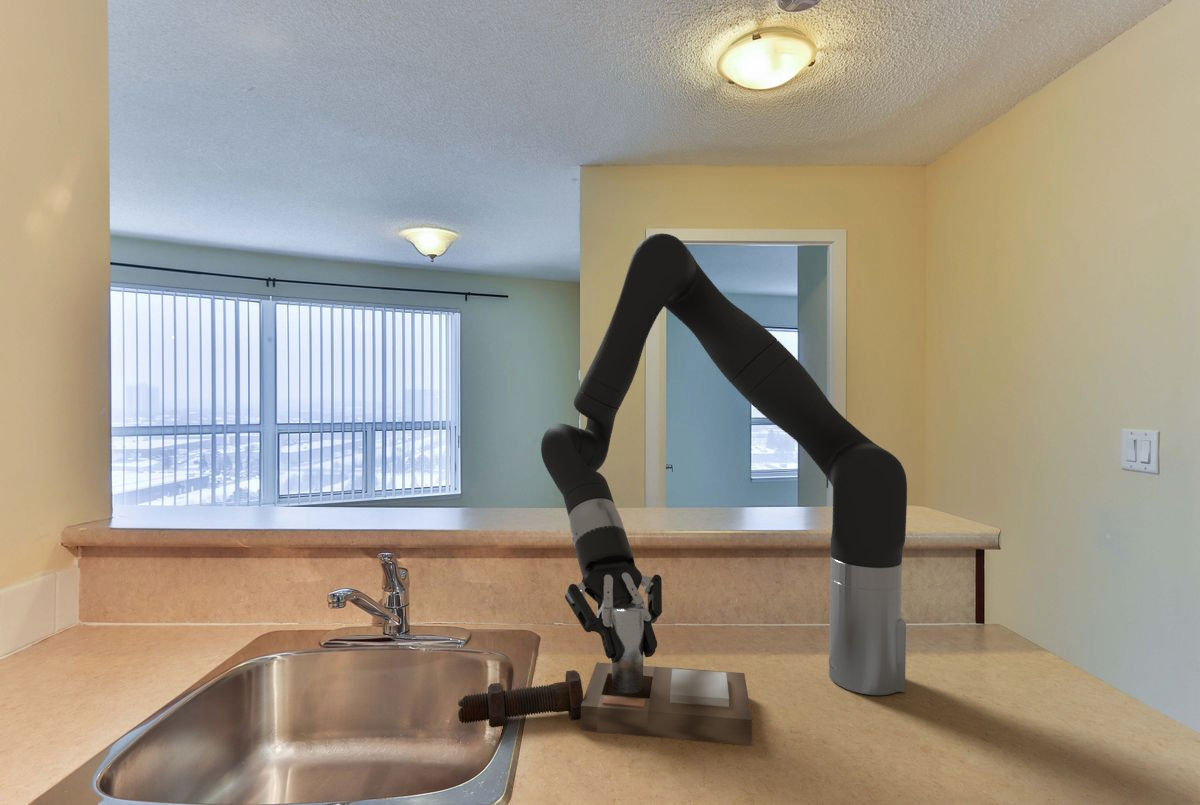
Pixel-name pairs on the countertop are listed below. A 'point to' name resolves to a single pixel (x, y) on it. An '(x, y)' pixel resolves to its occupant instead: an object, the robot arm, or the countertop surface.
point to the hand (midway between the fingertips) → (634, 656)
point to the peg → (628, 647)
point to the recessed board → (671, 705)
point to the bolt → (523, 701)
